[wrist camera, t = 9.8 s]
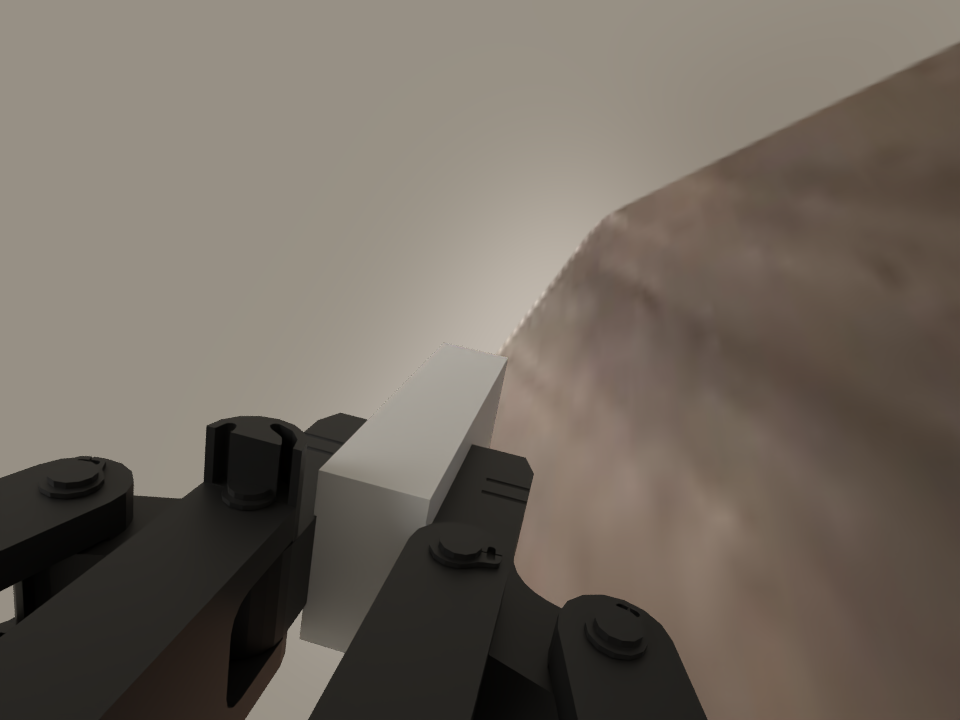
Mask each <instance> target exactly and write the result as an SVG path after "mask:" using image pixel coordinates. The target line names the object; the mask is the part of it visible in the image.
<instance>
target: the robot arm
mask: <svg viewBox="0 0 960 720" xmlns="http://www.w3.org/2000/svg"><path fill="white" fill-rule="evenodd" d="M507 360H508V357H503V356H499V355H495V354H490V353H486V352H482V351H477V350H473V349H469V348H464V347H461V346H456V345H452V344H448V343H443V344H442V345H441V346H440V347H439V348H438V349H437V350H436V351H435V352H434V353H433V354H432V355H431V356H430V357H429V358H428V359H427V360H426V361H425V362H424V363H423V364H422V365H421V366H420V367H419V369H417V370H416V371H415V372H414V373H413V375H411V377H410V378H409V379H408V380H407V381H406V382H405V383H404V384H403V385H402V386H401V387H400V388H399V389H398V390H397V391H396V392H395V393H394V394H393V395H392V396H391V397H390V398H389V399H388V400H387V401H386V402H385V403H384V404H383V405H382V406H381V407H380V408H379V409H378V410H377V411H376V412H375V413H374V414H373V415H372V416H371V417H370V418H369V419H368V420H367V419H363V418H359V417H355V416H351V415H347V414H343V413H339V414H336V415H333V416H329V417H327V418H324V419H320V420H318V421H317V422H315V423H314V424H313V425H312V426H311V427H310V428H308V429H307V430H306V431H305V432H303V431H301V430H300V429H299V428H298V427H296V426H295V425H293V424H290V423H288V422H285V421H282V420H280V419H274V418H268V417H262V416H239V417H233V418H228V419H221V420H219V421H217V422H214V423H212V424H210V425H207V428H206V447H205V467H204V482H203V483H202V484H200V485H199V486H198V487H197V488H195V489H194V490H193V491H191V492H190V493H189V494H187V495H186V496H185V497H184V498H182V499H176V498H161V497H147V496H133V486H134V484H133V483H134V482H133V475H132V471H131V470H129V469H128V468H127V467H125V466H124V465H123V464H121V463H118V462H115V461H112V460H109V459H105V458H99V457H94V458H92V457H90V456H79V457H76V458H66V459H59V460H55V461H51V462H47V463H43V464H39V465H37V466H33V467H30V468H28V469H25V470H22V471H19V472H16V473H13V474H11V475H8V476H5V477H2V478H0V591H2V590H4V589H6V588H8V587H10V586H12V585H13V590H14V605H15V617H14V618H13V619H11V620H9V621H6V622H3V623H0V720H245V718H246V717H247V715H248V714H249V712H250V711H251V709H252V708H253V706H254V705H255V703H256V702H257V700H258V699H259V697H260V696H261V694H262V693H263V691H264V690H265V688H266V687H267V685H268V684H269V682H270V681H271V679H272V678H273V676H274V675H275V673H276V672H277V670H278V668H279V667H280V665H281V662H282V659H283V657H284V654H285V648H286V638H287V630H288V629H289V627H290V626H291V625H292V623H293V622H294V620H295V619H296V618H297V616H298V614H299V613H300V612H301V610H302V609H303V613H302V621H301V631H300V639H301V640H305V641H308V642H311V643H315V644H318V645H321V646H324V647H328V648H331V649H334V650H337V651H341V652H344V653H345V654H344V656H343V658H342V660H341V661H340V663H339V665H338V667H337V669H336V670H335V672H334V674H333V676H332V678H331V679H330V681H329V683H328V685H327V687H326V689H325V690H324V692H323V694H322V696H321V697H320V699H319V701H318V703H317V705H316V707H315V708H314V710H313V712H312V714H311V715H310V717H309V719H308V720H707V717H706V715H705V713H704V711H703V708H702V706H701V704H700V702H699V699H698V697H697V695H696V693H695V690H694V688H693V686H692V684H691V681H690V679H689V677H688V675H687V672H686V670H685V668H684V666H683V663H682V661H681V659H680V657H679V654H678V652H677V650H676V648H675V645H674V643H673V641H672V640H671V638H670V637H669V635H668V634H667V632H666V631H665V629H664V628H663V626H662V625H661V624H660V623H659V622H657V621H656V620H655V619H654V618H653V617H651V616H650V615H649V614H648V613H647V612H645V611H644V610H642V609H640V608H638V607H636V606H634V605H632V604H631V603H629V602H627V601H625V600H621V599H618V598H614V597H610V596H606V595H582V596H579V597H577V598H574V599H572V600H569V601H567V603H566V604H565V605H564V606H563V608H560V607H558V606H556V605H554V604H552V603H550V602H549V601H547V600H545V599H544V598H542V597H541V596H539V595H538V594H536V593H535V592H534V591H532V590H531V589H530V588H529V587H528V586H527V585H526V584H525V583H524V582H523V580H522V579H521V578H520V576H519V575H518V573H517V571H516V568H515V565H514V555H515V551H516V547H517V543H518V539H519V535H520V530H521V526H522V522H523V518H524V513H525V509H526V505H527V500H528V496H529V492H530V488H531V483H532V479H533V475H534V473H533V471H532V469H531V467H530V465H529V463H528V461H527V460H526V458H524V457H520V456H516V455H513V454H509V453H505V452H501V451H497V450H493V449H489V447H490V442H491V438H492V433H493V428H494V423H495V418H496V413H497V409H498V404H499V399H500V394H501V389H502V384H503V379H504V375H505V370H506V365H507Z"/></svg>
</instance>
